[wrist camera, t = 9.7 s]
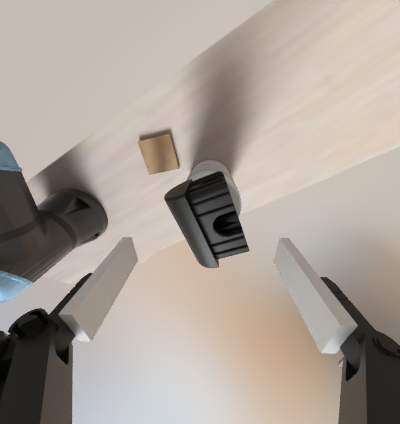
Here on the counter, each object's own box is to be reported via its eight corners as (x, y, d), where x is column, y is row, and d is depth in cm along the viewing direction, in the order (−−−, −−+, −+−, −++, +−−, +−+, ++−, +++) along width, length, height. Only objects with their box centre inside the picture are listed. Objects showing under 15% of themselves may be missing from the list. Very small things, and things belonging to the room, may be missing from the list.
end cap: (171, 185, 21) (155, 205, 15) (220, 165, 19) (225, 178, 13) (199, 240, 25) (195, 273, 19) (241, 228, 23) (252, 260, 17)
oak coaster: (151, 173, 35) (149, 174, 34) (139, 141, 32) (137, 141, 31) (179, 167, 34) (178, 168, 33) (170, 133, 31) (169, 133, 30)
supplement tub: (184, 165, 34) (167, 183, 21) (226, 154, 32) (236, 165, 19) (196, 203, 38) (188, 239, 25) (233, 195, 36) (246, 228, 23)
